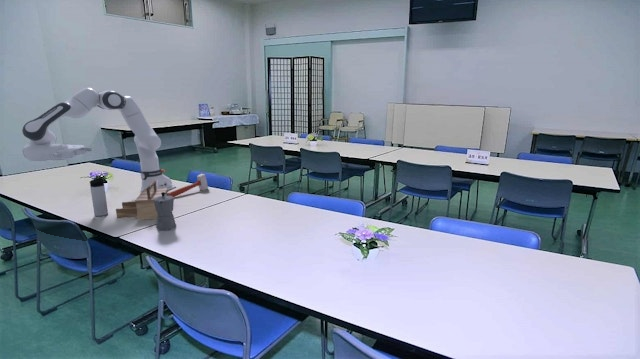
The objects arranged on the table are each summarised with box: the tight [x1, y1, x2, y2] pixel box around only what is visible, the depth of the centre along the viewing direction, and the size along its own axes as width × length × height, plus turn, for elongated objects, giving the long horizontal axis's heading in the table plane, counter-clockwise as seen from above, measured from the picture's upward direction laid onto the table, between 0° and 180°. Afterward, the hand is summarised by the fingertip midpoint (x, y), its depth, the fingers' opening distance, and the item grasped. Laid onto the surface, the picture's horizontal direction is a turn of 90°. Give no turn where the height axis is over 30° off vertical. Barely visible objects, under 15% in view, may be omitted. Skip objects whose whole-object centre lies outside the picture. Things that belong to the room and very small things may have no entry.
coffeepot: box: [153, 192, 177, 232], centre depth 175 cm, size 15×9×18 cm, turn 13°
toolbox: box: [115, 180, 169, 221], centre depth 195 cm, size 23×23×16 cm
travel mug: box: [89, 177, 109, 218], centre depth 189 cm, size 6×7×20 cm
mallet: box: [167, 173, 209, 198], centre depth 233 cm, size 11×4×30 cm
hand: (88, 150), depth 195 cm, fingers open, 8 cm apart
